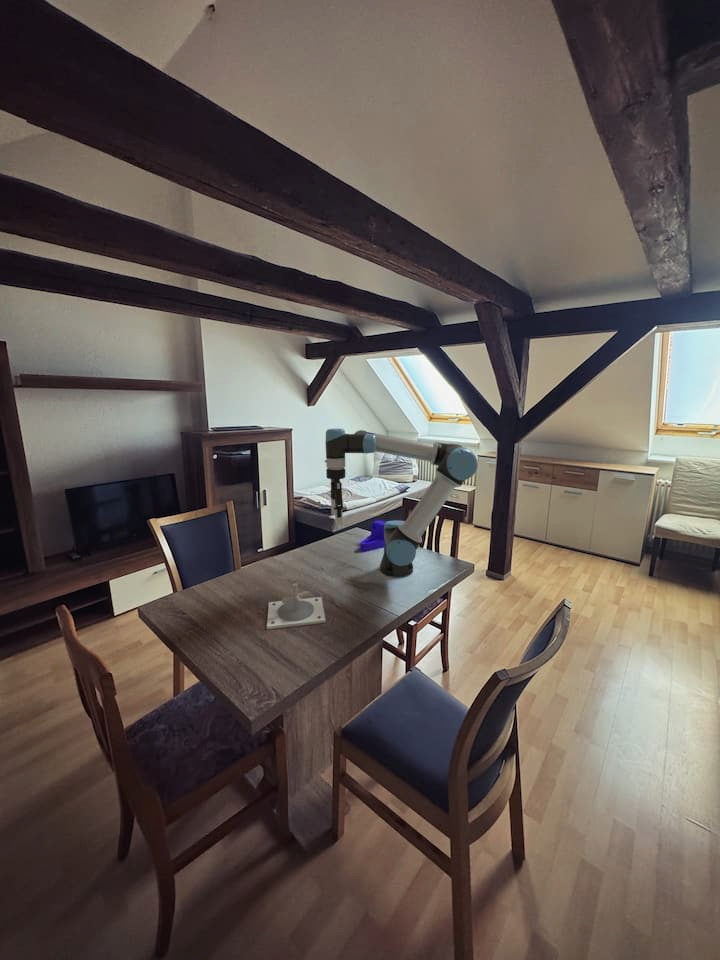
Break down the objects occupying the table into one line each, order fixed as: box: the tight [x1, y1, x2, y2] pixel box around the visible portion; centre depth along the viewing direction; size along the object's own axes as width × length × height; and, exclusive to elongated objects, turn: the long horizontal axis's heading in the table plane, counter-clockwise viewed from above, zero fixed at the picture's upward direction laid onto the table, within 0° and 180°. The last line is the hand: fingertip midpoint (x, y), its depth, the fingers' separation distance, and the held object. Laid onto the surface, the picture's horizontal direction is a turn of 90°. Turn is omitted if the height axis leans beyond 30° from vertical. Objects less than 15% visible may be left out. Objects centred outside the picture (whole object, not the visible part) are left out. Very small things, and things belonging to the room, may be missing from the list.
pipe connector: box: [281, 582, 310, 611], centre depth 138 cm, size 10×10×10 cm
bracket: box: [359, 519, 387, 553], centre depth 199 cm, size 18×11×12 cm, turn 136°
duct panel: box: [266, 596, 327, 630], centre depth 139 cm, size 20×16×2 cm
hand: (336, 519), depth 154 cm, fingers open, 13 cm apart
